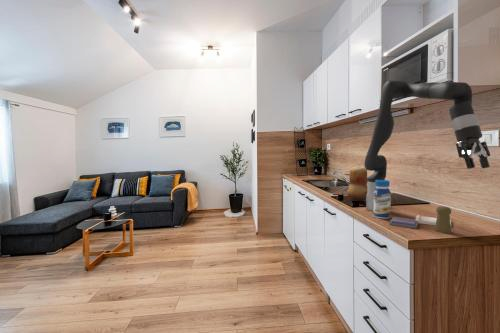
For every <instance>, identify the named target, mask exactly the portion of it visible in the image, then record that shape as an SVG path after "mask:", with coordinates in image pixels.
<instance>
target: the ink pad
mask: <svg viewBox="0 0 500 333" xmlns="http://www.w3.org/2000/svg"><path fill="white" fill-rule="evenodd" d="M388 224H389V226H395V227H402V228H406V229H407V228H409V229H413V230H414V229H416V230H417V228H418V225H419V223H418V221H416V219H415V218H407V217H400V216H393V217H391V218H390V221H389V222H388Z"/></svg>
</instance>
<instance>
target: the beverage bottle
mask: <svg viewBox="0 0 500 333" xmlns="http://www.w3.org/2000/svg"><path fill="white" fill-rule="evenodd" d="M375 186H376V188H375V190H374V196H373V199H374V211H373V212H372V213H373V214H372V216H373V217H375V218H377V219H384V220H387V219H391V202H392V197H391V193H392V192H391V190H390V189H389V187H390V180H388V179H385V180H376V181H375Z"/></svg>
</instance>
